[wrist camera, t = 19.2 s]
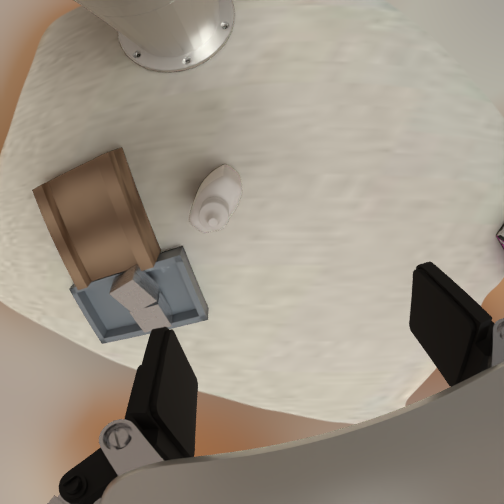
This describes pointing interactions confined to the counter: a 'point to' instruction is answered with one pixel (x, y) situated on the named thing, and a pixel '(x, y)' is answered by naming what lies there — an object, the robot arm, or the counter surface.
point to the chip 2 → (154, 315)
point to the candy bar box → (501, 236)
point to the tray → (170, 284)
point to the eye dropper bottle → (216, 199)
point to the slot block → (98, 219)
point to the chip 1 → (134, 289)
